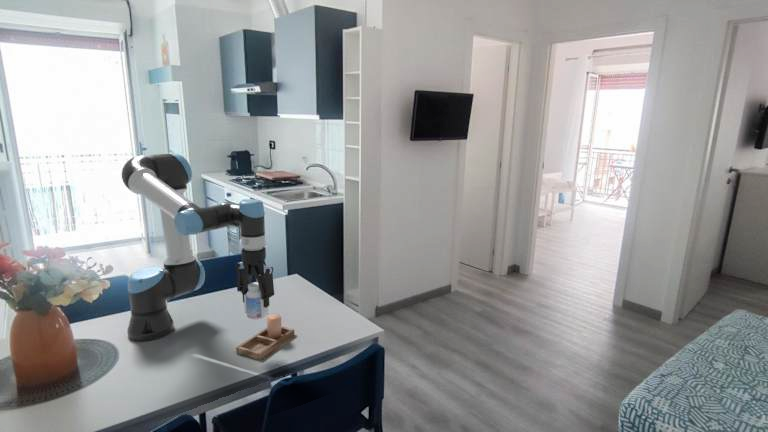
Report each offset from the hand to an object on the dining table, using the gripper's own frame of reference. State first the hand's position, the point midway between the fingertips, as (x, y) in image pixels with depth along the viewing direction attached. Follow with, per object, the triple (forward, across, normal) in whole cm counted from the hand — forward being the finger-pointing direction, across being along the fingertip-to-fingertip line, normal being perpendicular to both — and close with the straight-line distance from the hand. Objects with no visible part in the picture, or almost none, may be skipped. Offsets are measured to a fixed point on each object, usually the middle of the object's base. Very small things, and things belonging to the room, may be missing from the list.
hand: (256, 313), depth 145 cm
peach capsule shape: (+13, 0, +9) cm, 16 cm away
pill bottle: (+1, 0, 0) cm, 1 cm away
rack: (+14, 0, +4) cm, 15 cm away
